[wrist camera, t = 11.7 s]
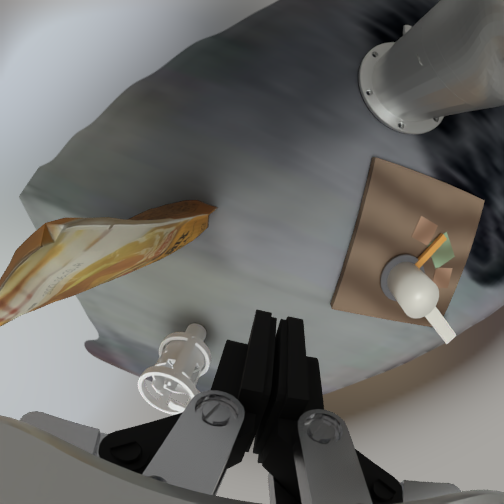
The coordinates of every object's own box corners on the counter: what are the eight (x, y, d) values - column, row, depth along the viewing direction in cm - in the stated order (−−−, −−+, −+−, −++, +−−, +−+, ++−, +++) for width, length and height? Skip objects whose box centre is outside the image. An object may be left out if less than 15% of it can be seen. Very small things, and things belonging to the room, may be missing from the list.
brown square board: (372, 157, 33) (376, 157, 31) (478, 198, 32) (484, 200, 30) (330, 303, 39) (332, 309, 37) (434, 323, 38) (438, 328, 37)
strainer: (209, 357, 44) (182, 429, 30) (168, 337, 44) (129, 402, 29) (227, 325, 42) (201, 398, 27) (183, 303, 41) (140, 368, 27)
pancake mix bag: (101, 230, 39) (-54, 318, 13) (212, 171, 35) (41, 215, 9) (121, 271, 41) (-14, 387, 14) (235, 220, 37) (125, 367, 10)
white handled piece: (370, 278, 35) (385, 302, 29) (430, 217, 32) (456, 230, 26) (429, 344, 37) (445, 369, 31) (479, 294, 34) (502, 314, 28)
